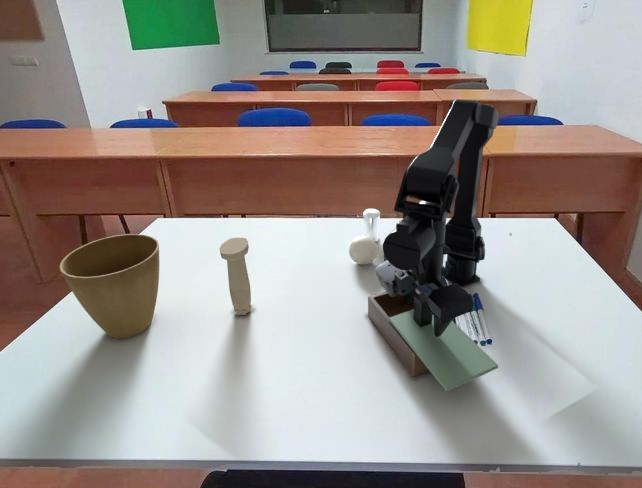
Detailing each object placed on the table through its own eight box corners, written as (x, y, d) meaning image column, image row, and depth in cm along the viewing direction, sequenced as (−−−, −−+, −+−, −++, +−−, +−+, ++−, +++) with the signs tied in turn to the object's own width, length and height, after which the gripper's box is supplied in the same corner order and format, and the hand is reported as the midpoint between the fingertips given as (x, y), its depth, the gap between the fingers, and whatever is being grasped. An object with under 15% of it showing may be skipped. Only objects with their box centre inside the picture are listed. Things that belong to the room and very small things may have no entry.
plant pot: (63, 342, 71) (37, 266, 66) (135, 295, 84) (119, 228, 79) (124, 364, 66) (101, 284, 61) (190, 311, 79) (177, 240, 74)
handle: (258, 301, 83) (250, 237, 77) (251, 321, 77) (242, 253, 71) (235, 301, 82) (226, 237, 77) (226, 322, 76) (215, 254, 71)
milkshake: (381, 245, 105) (381, 211, 102) (361, 243, 106) (361, 209, 103) (384, 237, 109) (384, 204, 106) (365, 235, 110) (365, 203, 107)
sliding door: (433, 305, 74) (435, 279, 72) (498, 368, 60) (502, 338, 58) (388, 320, 70) (389, 293, 68) (446, 391, 56) (449, 360, 54)
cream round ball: (369, 273, 93) (369, 247, 90) (344, 264, 96) (343, 239, 94) (383, 260, 98) (384, 236, 96) (359, 252, 102) (359, 229, 99)
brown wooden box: (410, 301, 82) (411, 283, 81) (462, 356, 68) (464, 335, 67) (367, 315, 78) (367, 296, 77) (413, 376, 64) (414, 354, 62)
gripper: (357, 226, 68) (358, 302, 73) (415, 282, 52) (411, 373, 57) (412, 214, 72) (409, 286, 78) (481, 262, 57) (471, 348, 62)
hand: (422, 319), depth 69 cm, fingers open, 9 cm apart
